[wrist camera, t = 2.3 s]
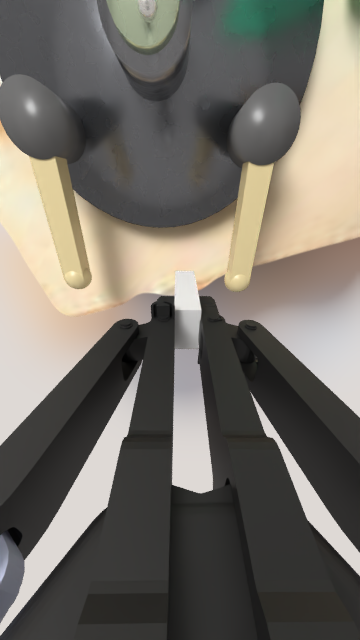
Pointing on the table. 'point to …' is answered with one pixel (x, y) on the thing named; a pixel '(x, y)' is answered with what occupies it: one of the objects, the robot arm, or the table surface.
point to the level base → (160, 134)
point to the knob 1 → (50, 163)
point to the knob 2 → (257, 168)
